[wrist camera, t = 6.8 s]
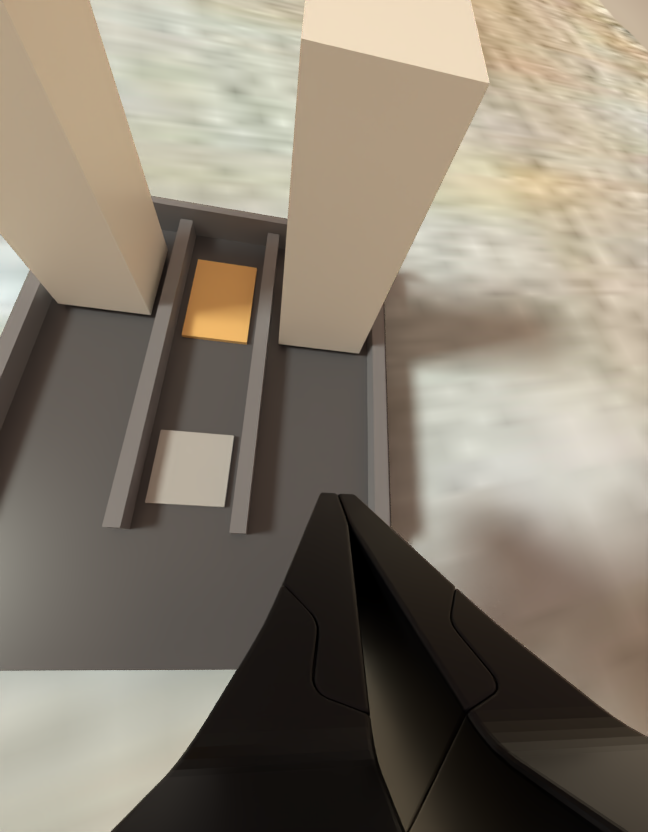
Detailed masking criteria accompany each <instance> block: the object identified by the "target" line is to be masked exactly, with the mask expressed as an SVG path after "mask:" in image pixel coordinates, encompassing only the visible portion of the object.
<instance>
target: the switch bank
mask: <svg viewBox="0 0 648 832" xmlns="http://www.w3.org/2000/svg"><path fill="white" fill-rule="evenodd" d="M151 198H152V201H153V204H154V208H155V211H156V214H157V217H158V220H159V223H160V227H161V230H162V233H163V236H164V239H165V243H166V246H167V249H168V252H167V256H166V259H165V263H164V267H163V271H162V275H161V279H160V282H159V286H158V290H157V294H156V298H155V301H154V305H153V309H152V313H151V315H146V314H138V313H130V312H122V311H114V310H106V309H98V308H90V307H82V306H74V305H66V304H58V303H57V302H56V301H55V299H54V298H53V297H52V296H51V295H50V293H49V292H48V291H47V290H46V289H45V287H44V286H43V285H42V284H41V282H40V281H39V280H38V279H37V278H36V276H35V275H34V274H33V273H32V272H31V270H30V271H29V273H28V275H27V277H26V280H25V282H24V284H23V286H22V289H21V291H20V293H19V296H18V298H17V300H16V302H15V305H14V307H13V309H12V312H11V314H10V316H9V318H8V321H7V323H6V325H5V327H4V330H3V332H2V334H1V337H0V671H19V670H223V669H238V667H239V666H240V664H241V662H242V661H243V659H244V657H245V656H246V654H247V652H248V651H249V649H250V647H251V646H252V644H253V642H254V640H255V638H256V637H257V635H258V633H259V631H260V630H261V628H262V626H263V624H264V622H265V620H266V618H267V616H268V614H269V612H270V609H271V607H272V605H273V603H274V601H275V599H276V596H277V594H278V592H279V589H280V587H281V586H282V583H283V580H284V578H285V576H286V573H287V571H288V568H289V566H290V564H291V561H292V559H293V557H294V554H295V552H296V550H297V547H298V545H299V542H300V540H301V538H302V535H303V533H304V531H305V528H306V526H307V524H308V521H309V519H310V516H311V514H312V512H313V509H314V507H315V505H316V502H317V500H318V497H319V495H320V494H321V493H323V492H324V493H336V494H337V495H338V494H354V495H356V496H357V497H358V498H359V499H360V500H361V501H362V502H363V503H365V504H366V505H367V506H368V507H369V508H370V509H371V510H372V511H373V512H374V513H375V514H377V515H378V516H379V517H380V518H381V519H382V520H383V521H384V522H385V523H386V524H387V525H389V526H390V527H391V508H390V476H389V443H388V411H387V379H386V347H385V314H384V303H383V305H382V307H381V309H380V311H379V313H378V315H377V317H376V319H375V321H374V323H373V325H372V328H371V330H370V332H369V334H368V336H367V338H366V340H365V342H364V344H363V346H362V348H361V350H360V352H359V354H358V353H350V352H342V351H333V350H325V349H317V348H308V347H300V346H292V345H283V344H278V342H279V329H280V315H281V302H282V289H283V275H284V262H285V248H286V235H287V222H288V219H286V218H280V217H274V216H268V215H262V214H256V213H250V212H244V211H238V210H232V209H226V208H220V207H214V206H208V205H203V204H197V203H191V202H185V201H179V200H173V199H167V198H161V197H155V196H151Z"/></svg>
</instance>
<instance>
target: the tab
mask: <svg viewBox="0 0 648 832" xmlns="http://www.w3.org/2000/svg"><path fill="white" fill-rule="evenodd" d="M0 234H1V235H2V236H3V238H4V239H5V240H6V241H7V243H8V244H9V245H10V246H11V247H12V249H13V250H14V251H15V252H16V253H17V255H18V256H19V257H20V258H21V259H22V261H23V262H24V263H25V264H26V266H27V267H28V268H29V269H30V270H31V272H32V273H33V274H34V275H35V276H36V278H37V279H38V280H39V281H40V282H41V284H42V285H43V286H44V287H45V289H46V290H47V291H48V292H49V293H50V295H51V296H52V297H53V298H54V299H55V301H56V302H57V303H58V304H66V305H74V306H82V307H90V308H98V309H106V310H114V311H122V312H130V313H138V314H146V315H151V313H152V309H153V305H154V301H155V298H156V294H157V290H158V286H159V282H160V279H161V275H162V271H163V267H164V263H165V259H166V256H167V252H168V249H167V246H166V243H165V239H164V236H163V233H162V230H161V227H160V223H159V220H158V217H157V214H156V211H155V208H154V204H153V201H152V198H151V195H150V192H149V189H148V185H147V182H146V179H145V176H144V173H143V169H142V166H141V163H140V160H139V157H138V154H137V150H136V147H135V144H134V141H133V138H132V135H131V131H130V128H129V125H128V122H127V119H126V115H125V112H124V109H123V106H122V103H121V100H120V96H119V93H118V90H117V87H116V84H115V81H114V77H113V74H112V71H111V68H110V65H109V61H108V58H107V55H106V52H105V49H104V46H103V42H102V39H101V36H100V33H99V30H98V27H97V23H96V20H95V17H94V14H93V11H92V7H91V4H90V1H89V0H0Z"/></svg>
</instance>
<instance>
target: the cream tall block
mask: <svg viewBox="0 0 648 832" xmlns="http://www.w3.org/2000/svg"><path fill="white" fill-rule="evenodd" d="M489 84H490V82H489V78H488V74H487V69H486V65H485V61H484V56H483V52H482V48H481V43H480V39H479V35H478V30H477V26H476V21H475V17H474V13H473V8H472V4H471V0H305V9H304V18H303V27H302V35H301V47H300V61H299V74H298V88H297V101H296V114H295V128H294V141H293V155H292V168H291V181H290V195H289V208H288V222H287V235H286V248H285V262H284V275H283V289H282V302H281V315H280V329H279V342H278V344H283V345H292V346H300V347H308V348H317V349H325V350H333V351H342V352H350V353H358V354H359V352H360V350H361V348H362V346H363V344H364V342H365V340H366V338H367V336H368V334H369V332H370V330H371V328H372V325H373V323H374V321H375V319H376V317H377V315H378V313H379V311H380V309H381V307H382V305H383V303H384V301H385V299H386V297H387V295H388V292H389V290H390V288H391V286H392V284H393V282H394V280H395V278H396V276H397V274H398V272H399V270H400V268H401V266H402V264H403V261H404V259H405V257H406V255H407V253H408V251H409V249H410V247H411V245H412V243H413V241H414V239H415V237H416V235H417V233H418V231H419V228H420V226H421V224H422V222H423V220H424V218H425V216H426V214H427V212H428V210H429V208H430V206H431V204H432V202H433V200H434V198H435V195H436V193H437V191H438V189H439V187H440V185H441V183H442V181H443V179H444V177H445V175H446V173H447V171H448V169H449V167H450V164H451V162H452V160H453V158H454V156H455V154H456V152H457V150H458V148H459V146H460V144H461V142H462V140H463V138H464V136H465V134H466V131H467V129H468V127H469V125H470V123H471V121H472V119H473V117H474V115H475V113H476V111H477V109H478V107H479V105H480V103H481V100H482V98H483V96H484V94H485V92H486V90H487V88H488V86H489Z"/></svg>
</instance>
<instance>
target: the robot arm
mask: <svg viewBox="0 0 648 832" xmlns="http://www.w3.org/2000/svg"><path fill="white" fill-rule="evenodd" d="M111 832H648V737H647V736H645V735H643V734H641V733H639V732H638V731H636V730H634V729H632V728H630V727H629V726H627V725H626V724H624V723H623V722H621V721H620V720H618V719H616V718H615V717H613V716H612V715H611V714H609V713H608V712H607V711H605V710H604V709H603V708H601V707H600V706H599V705H597V704H596V703H595V702H594V701H592V700H591V699H590V698H589V697H587V696H586V695H585V694H584V693H582V692H581V691H580V690H579V689H577V688H576V687H575V686H574V685H572V684H571V683H570V682H568V681H567V680H566V679H565V678H563V677H562V676H561V675H560V674H558V673H557V672H556V671H555V670H553V669H552V668H551V667H550V666H548V665H547V664H546V663H545V662H543V661H542V660H541V659H540V658H538V657H537V656H536V655H535V654H533V653H532V652H531V651H529V650H528V649H527V648H526V647H524V646H523V645H522V644H521V643H520V642H518V641H517V640H516V639H515V638H513V637H512V636H511V635H510V634H509V633H507V632H506V631H505V630H504V629H503V628H501V627H500V626H499V625H498V624H496V623H495V622H494V621H493V620H492V619H491V618H490V617H488V616H487V615H486V614H485V613H484V612H483V611H482V610H480V609H479V608H478V607H477V606H476V605H475V604H474V603H473V602H471V601H470V600H469V599H468V598H467V597H466V596H465V595H464V594H463V593H462V592H461V591H459V590H458V589H456V590H455V586H454V585H453V584H452V583H451V582H449V581H448V580H447V579H446V578H445V577H444V576H443V575H442V574H441V573H440V572H439V571H438V570H436V569H435V568H434V567H433V566H432V565H431V564H430V563H429V562H428V561H427V560H426V559H424V558H423V557H422V556H421V555H420V554H419V553H418V552H417V551H416V550H415V549H414V548H412V547H411V546H410V545H409V544H408V543H407V542H406V541H405V540H404V539H403V538H402V537H400V536H399V535H398V534H397V533H396V532H395V531H394V530H393V529H392V528H391V527H390V526H389V525H387V524H386V523H385V522H384V521H383V520H382V519H381V518H380V517H379V516H378V515H377V514H375V513H374V512H373V511H372V510H371V509H370V508H369V507H368V506H367V505H366V504H365V503H363V502H362V501H361V500H360V499H359V498H358V497H357V496H356V495H354V494H338V495H337V494H336V493H324V492H323V493H321V494H320V495H319V497H318V500H317V502H316V505H315V507H314V509H313V512H312V514H311V516H310V519H309V521H308V524H307V526H306V528H305V531H304V533H303V535H302V538H301V540H300V542H299V545H298V547H297V550H296V552H295V554H294V557H293V559H292V561H291V564H290V566H289V568H288V571H287V573H286V576H285V578H284V580H283V583H282V586H281V587H280V589H279V592H278V594H277V596H276V599H275V601H274V603H273V605H272V607H271V609H270V612H269V614H268V616H267V618H266V620H265V622H264V624H263V626H262V628H261V630H260V631H259V633H258V635H257V637H256V638H255V640H254V642H253V644H252V646H251V647H250V649H249V651H248V652H247V654H246V656H245V657H244V659H243V661H242V662H241V664H240V666H239V667H238V669H237V670H236V672H235V674H234V675H233V677H232V679H231V680H230V682H229V683H228V685H227V687H226V688H225V690H224V692H223V693H222V695H221V697H220V698H219V700H218V701H217V703H216V705H215V706H214V708H213V710H212V711H211V713H210V715H209V716H208V718H207V719H206V721H205V723H204V724H203V726H202V727H201V729H200V730H199V732H198V733H197V735H196V737H195V738H194V739H193V741H192V742H191V744H190V745H189V747H188V748H187V750H186V751H185V752H184V754H183V755H182V756H181V758H180V759H179V760H178V762H177V763H176V764H175V765H174V767H173V768H172V769H171V770H170V771H169V773H168V774H167V775H166V776H165V777H164V778H163V779H162V780H161V781H160V782H159V783H158V784H157V785H156V786H155V787H154V788H153V789H152V790H151V791H150V792H149V793H148V794H147V795H146V796H145V797H144V798H143V799H142V800H141V801H140V802H139V803H138V804H137V805H136V806H135V807H134V808H133V810H132V811H131V812H130V813H129V814H128V815H127V816H126V817H125V818H124V819H123V820H122V821H121V822H120V823H119V824H118V825H117V826H116V827H115V828H114V829H113V830H112V831H111Z"/></svg>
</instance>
